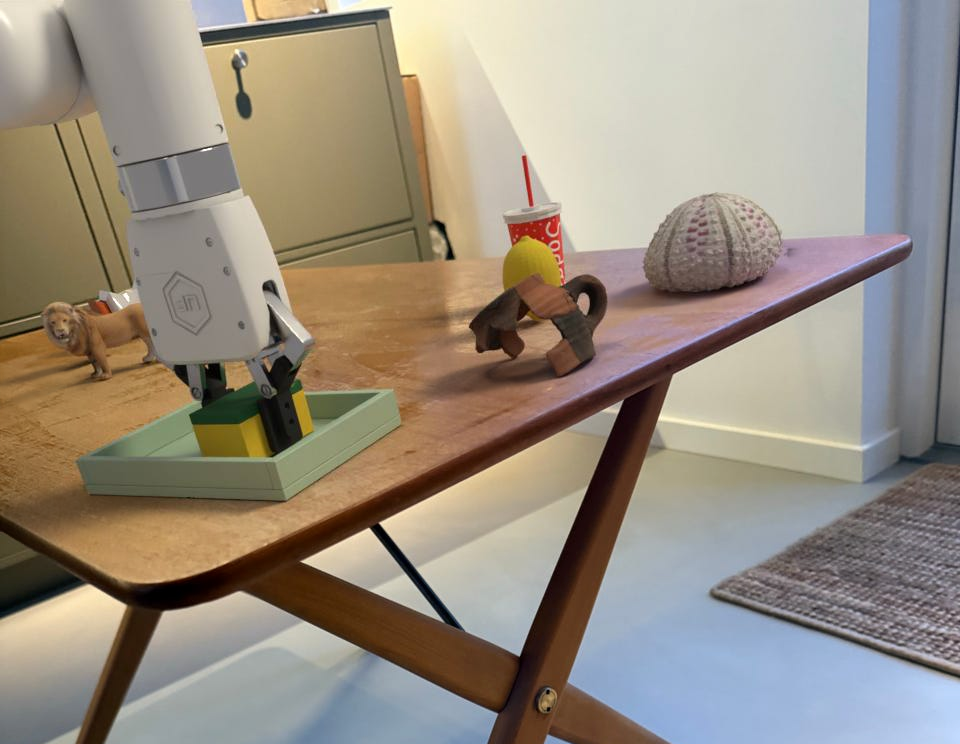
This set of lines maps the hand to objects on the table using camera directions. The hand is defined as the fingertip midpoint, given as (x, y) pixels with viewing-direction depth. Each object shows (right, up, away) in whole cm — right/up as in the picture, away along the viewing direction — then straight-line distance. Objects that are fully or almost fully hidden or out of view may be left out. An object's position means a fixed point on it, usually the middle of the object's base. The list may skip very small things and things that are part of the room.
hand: (259, 443), depth 77 cm
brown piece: (+23, +8, +10) cm, 26 cm away
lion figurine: (-24, +16, +41) cm, 50 cm away
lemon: (+22, +16, +24) cm, 36 cm away
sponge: (0, 0, 0) cm, 0 cm away
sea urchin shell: (+40, +21, +25) cm, 51 cm away
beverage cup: (+24, +22, +33) cm, 46 cm away
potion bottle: (-26, +27, +61) cm, 71 cm away
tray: (-1, -1, +2) cm, 2 cm away
